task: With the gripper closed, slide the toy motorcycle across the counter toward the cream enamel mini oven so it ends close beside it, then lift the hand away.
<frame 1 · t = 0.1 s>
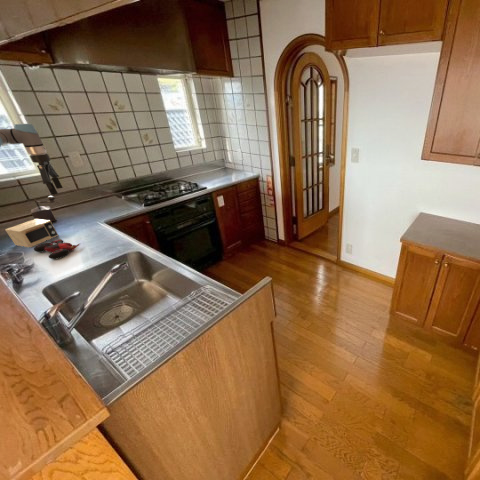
hand: (57, 191, 155), 31 cm above the countertop, tool pointing down, fingers open, 13 cm apart
toy motorcycle: (61, 250, 155), on the countertop
mini oven: (37, 240, 166), on the countertop
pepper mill: (51, 220, 194), on the countertop
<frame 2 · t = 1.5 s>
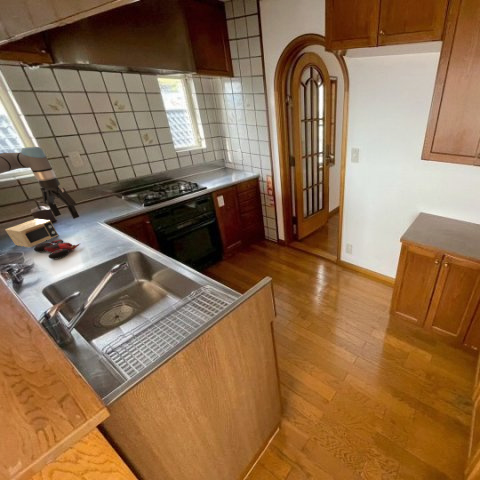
hand: (67, 216, 145), 21 cm above the countertop, tool pointing down, fingers open, 13 cm apart
nothing on the countertop moved.
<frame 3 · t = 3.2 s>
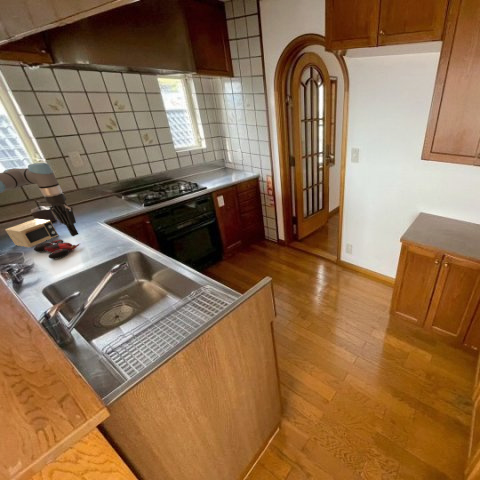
hand: (75, 235, 145), 12 cm above the countertop, tool pointing down, fingers closed
nothing on the countertop moved.
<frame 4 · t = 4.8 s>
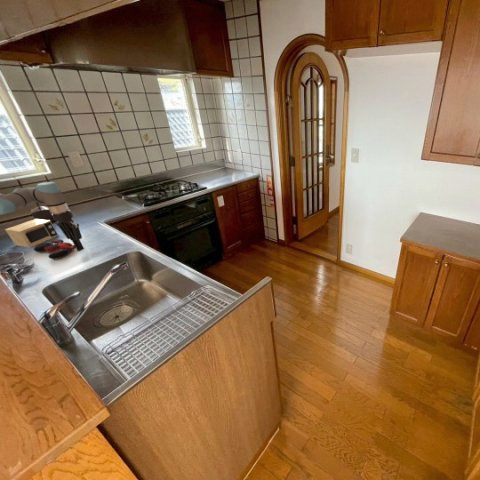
hand: (80, 249, 150), 2 cm above the countertop, tool pointing down, fingers closed
nothing on the countertop moved.
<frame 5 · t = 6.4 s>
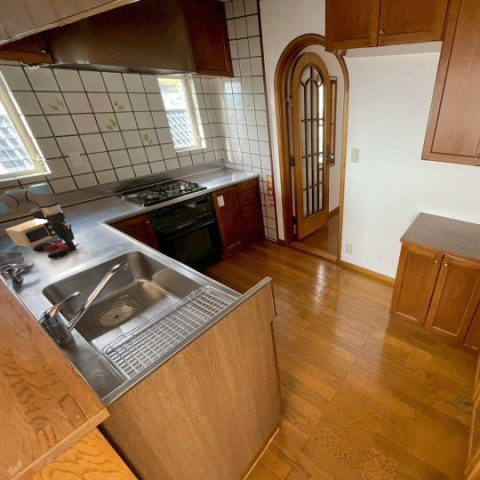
hand: (73, 250, 152), 1 cm above the countertop, tool pointing down, fingers closed
toy motorcycle: (60, 250, 155), on the countertop, touching gripper
everything else where it was.
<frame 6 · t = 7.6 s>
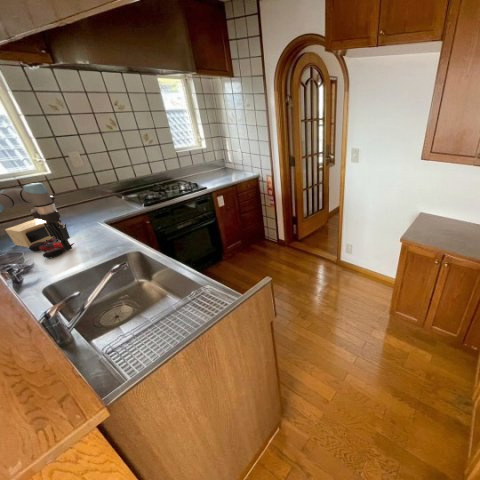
hand: (68, 249, 153), 1 cm above the countertop, tool pointing down, fingers closed
toy motorcycle: (55, 249, 156), on the countertop, touching gripper
everything else where it was.
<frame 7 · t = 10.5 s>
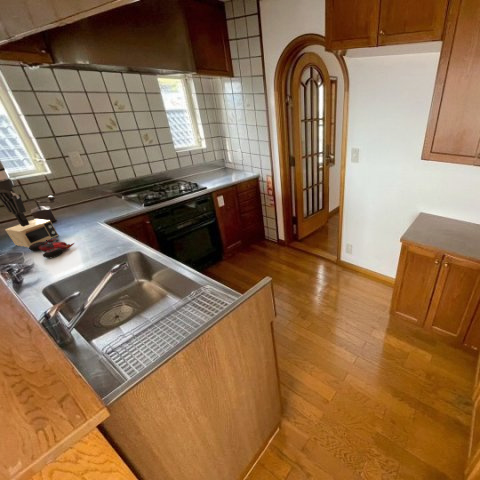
hand: (25, 225, 134), 22 cm above the countertop, tool pointing down, fingers closed
toy motorcycle: (55, 249, 156), on the countertop
everything else where it was.
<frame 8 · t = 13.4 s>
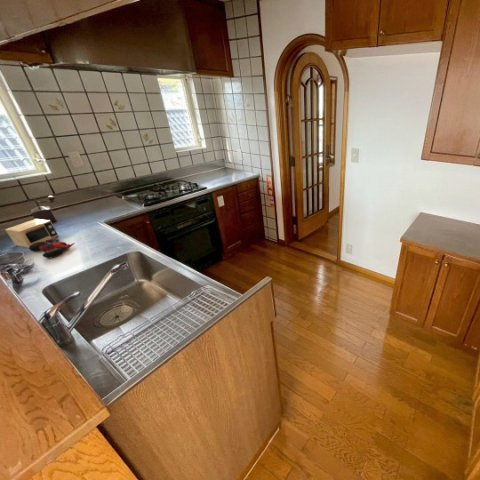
nothing on the countertop moved.
at the end: toy motorcycle 24.4 cm from the mini oven (horizontally); toy motorcycle inside the target area (2.7 cm from its centre), on the countertop; toy motorcycle moved 4.3 cm from its start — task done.
